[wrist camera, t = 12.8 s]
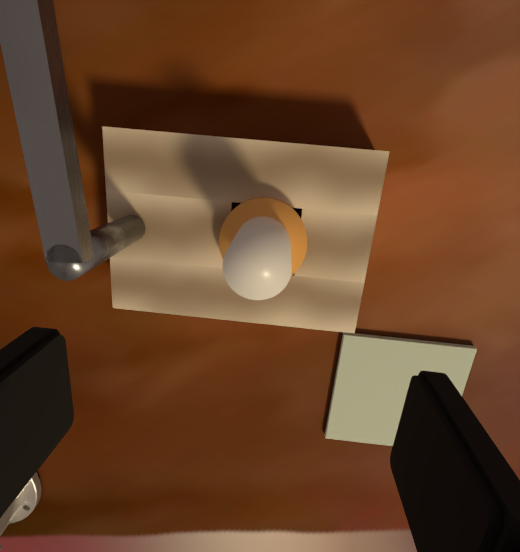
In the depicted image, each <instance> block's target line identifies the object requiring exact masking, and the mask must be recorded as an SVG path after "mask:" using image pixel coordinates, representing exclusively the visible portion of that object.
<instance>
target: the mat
mask: <svg viewBox="0 0 520 552" xmlns="http://www.w3.org/2000/svg"><path fill="white" fill-rule="evenodd" d="M476 351H477V349H476V348H475V346H472V345H462V344H453V343H443V342H434V341H424V340H415V339H405V338H396V337H387V336H377V335H368V334H358V333H346V332H343V336H342V341H341V347H340V353H339V358H338V364H337V369H336V375H335V380H334V386H333V392H332V397H331V403H330V408H329V414H328V419H327V425H326V430H325V438H327V439H336V440H345V441H353V442H362V443H370V444H379V445H388V446H393V444H394V440H395V436H396V432H397V429H398V425H399V421H400V418H401V414H402V410H403V406H404V403H405V399H406V395H407V391H408V388H409V384H410V380H411V378H412V376H414V375H416V376H418V374H419V373H420V371H431V372H440V373H445V374H446V375H447V376H448V377H449V379H450V380H451V381H452V383H453V384H454V386H455V387H456V389H457V390H458V392H459V393H460V394H461V396H462V394H463V391H464V388H465V385H466V382H467V378H468V375H469V372H470V369H471V366H472V363H473V360H474V357H475V354H476Z"/></svg>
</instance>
